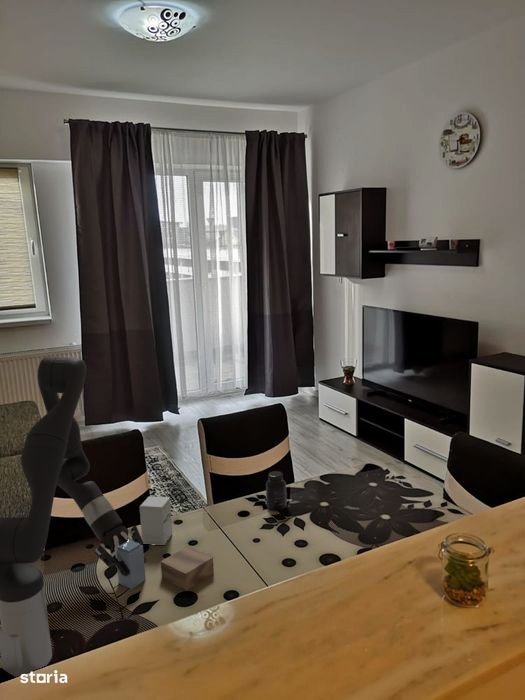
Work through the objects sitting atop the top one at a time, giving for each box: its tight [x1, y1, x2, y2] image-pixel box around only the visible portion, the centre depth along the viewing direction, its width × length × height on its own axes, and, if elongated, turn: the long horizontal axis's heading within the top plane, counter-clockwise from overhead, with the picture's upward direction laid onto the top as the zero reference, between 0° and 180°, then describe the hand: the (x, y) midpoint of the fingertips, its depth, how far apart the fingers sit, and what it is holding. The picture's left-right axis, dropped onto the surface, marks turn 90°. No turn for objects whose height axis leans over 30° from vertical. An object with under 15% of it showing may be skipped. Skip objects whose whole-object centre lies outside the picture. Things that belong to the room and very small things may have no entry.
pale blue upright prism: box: [116, 540, 147, 590], centre depth 151 cm, size 5×5×11 cm
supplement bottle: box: [265, 470, 288, 512], centre depth 192 cm, size 7×7×12 cm
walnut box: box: [160, 545, 215, 591], centre depth 153 cm, size 10×10×5 cm
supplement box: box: [139, 495, 173, 545], centre depth 172 cm, size 7×7×13 cm
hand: (135, 569), depth 150 cm, fingers closed on pale blue upright prism, 5 cm apart
